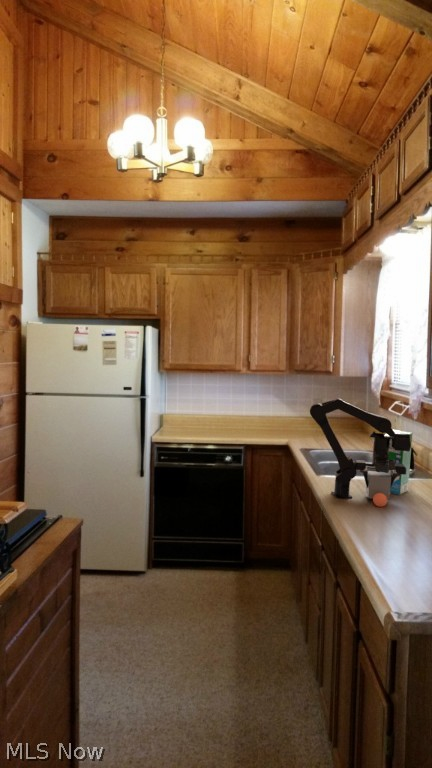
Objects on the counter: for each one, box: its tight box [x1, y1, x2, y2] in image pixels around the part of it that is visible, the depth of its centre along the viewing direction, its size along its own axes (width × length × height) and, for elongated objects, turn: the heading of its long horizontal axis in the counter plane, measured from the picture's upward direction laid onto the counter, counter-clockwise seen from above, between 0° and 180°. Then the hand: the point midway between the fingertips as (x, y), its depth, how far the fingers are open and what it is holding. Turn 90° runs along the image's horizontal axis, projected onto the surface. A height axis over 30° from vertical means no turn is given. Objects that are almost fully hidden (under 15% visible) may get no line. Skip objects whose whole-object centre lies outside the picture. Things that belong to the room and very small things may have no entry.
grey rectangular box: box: [365, 470, 391, 501], centre depth 179 cm, size 8×8×9 cm
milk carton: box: [384, 429, 413, 496], centre depth 193 cm, size 9×9×25 cm
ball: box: [372, 493, 388, 508], centre depth 172 cm, size 5×5×5 cm
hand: (377, 488), depth 179 cm, fingers closed on grey rectangular box, 8 cm apart
